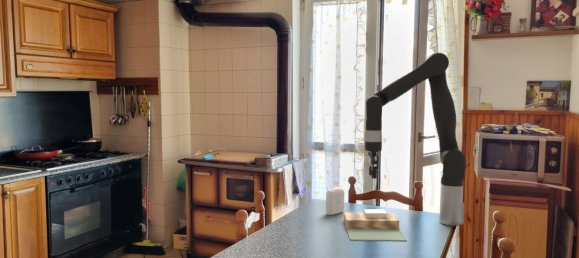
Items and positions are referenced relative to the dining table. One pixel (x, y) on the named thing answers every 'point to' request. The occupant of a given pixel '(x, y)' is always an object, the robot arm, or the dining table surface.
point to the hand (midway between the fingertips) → (372, 176)
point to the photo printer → (335, 201)
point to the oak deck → (370, 221)
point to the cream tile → (375, 213)
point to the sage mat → (375, 235)
